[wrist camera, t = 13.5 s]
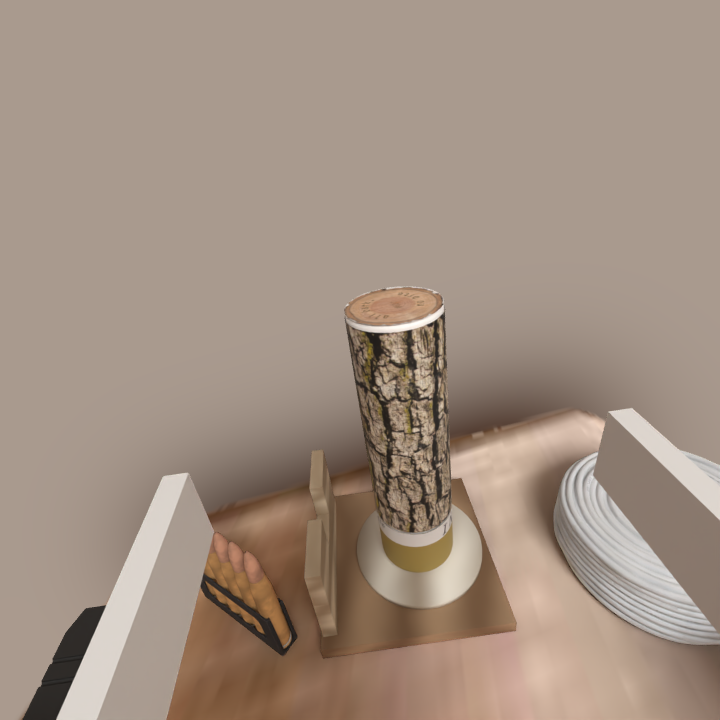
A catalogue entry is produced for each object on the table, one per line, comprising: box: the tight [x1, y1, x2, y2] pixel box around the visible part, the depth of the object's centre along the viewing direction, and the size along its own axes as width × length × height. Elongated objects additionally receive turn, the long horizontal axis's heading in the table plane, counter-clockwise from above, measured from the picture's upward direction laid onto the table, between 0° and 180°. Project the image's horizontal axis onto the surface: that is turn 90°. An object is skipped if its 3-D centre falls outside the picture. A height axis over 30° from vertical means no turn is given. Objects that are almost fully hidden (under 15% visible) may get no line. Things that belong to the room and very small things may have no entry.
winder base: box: [304, 450, 516, 658], centre depth 39 cm, size 16×16×9 cm
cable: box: [553, 450, 720, 645], centre depth 37 cm, size 18×18×6 cm
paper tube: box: [344, 286, 453, 573], centre depth 34 cm, size 7×7×25 cm
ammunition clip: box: [200, 532, 297, 656], centre depth 35 cm, size 11×2×12 cm, turn 56°
